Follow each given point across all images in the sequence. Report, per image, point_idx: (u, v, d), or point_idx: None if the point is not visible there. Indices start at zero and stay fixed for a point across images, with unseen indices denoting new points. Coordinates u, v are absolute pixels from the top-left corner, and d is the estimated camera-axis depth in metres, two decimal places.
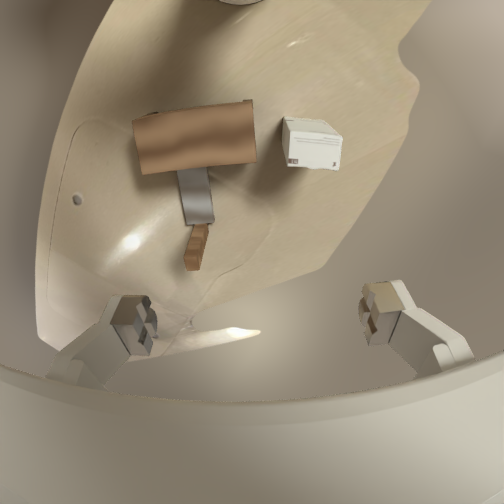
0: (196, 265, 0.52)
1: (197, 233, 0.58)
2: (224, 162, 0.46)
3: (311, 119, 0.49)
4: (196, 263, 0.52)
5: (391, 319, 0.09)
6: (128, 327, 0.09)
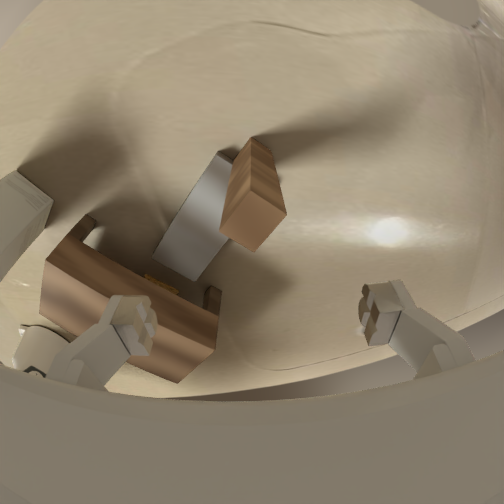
0: (242, 209, 0.15)
1: None
2: (86, 288, 0.24)
3: None
4: (236, 214, 0.15)
5: (391, 319, 0.09)
6: (128, 327, 0.09)
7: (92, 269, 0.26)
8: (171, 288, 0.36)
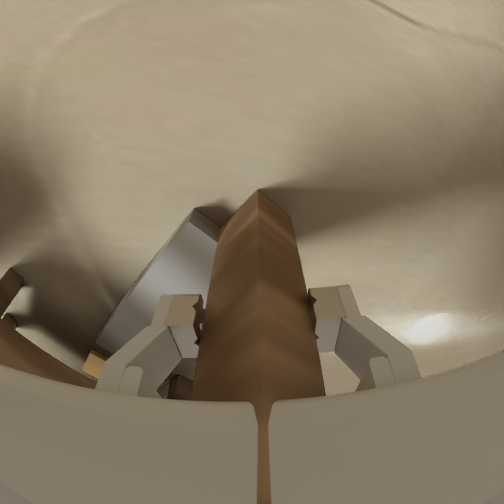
0: None
1: None
2: None
3: None
4: None
5: (332, 326, 0.09)
6: (186, 328, 0.09)
7: (11, 366, 0.13)
8: None
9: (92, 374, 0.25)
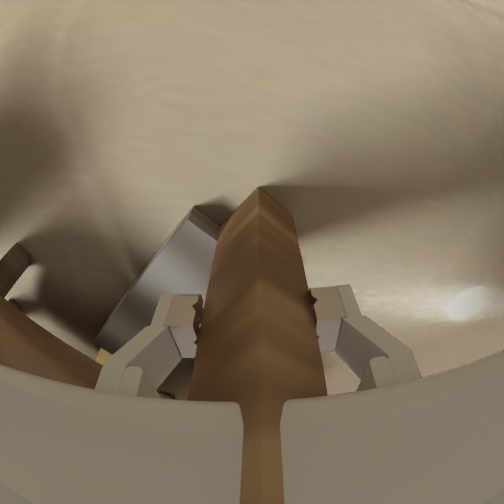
0: None
1: None
2: None
3: None
4: None
5: (332, 326, 0.09)
6: (186, 328, 0.09)
7: (15, 352, 0.12)
8: None
9: None
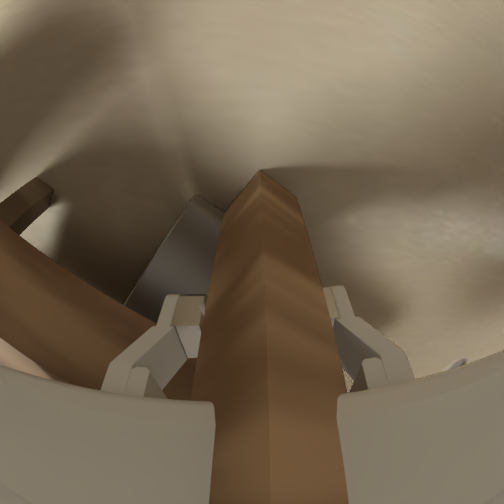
0: None
1: None
2: (9, 347, 0.08)
3: None
4: None
5: None
6: (193, 328, 0.09)
7: (23, 299, 0.09)
8: None
9: None
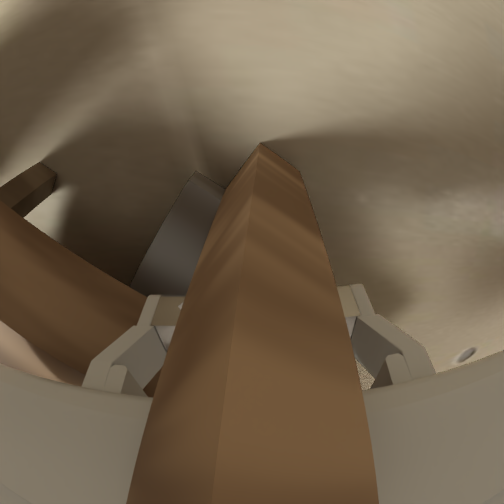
0: None
1: None
2: (7, 329, 0.07)
3: None
4: None
5: (347, 325, 0.09)
6: (171, 328, 0.09)
7: (24, 279, 0.09)
8: None
9: None
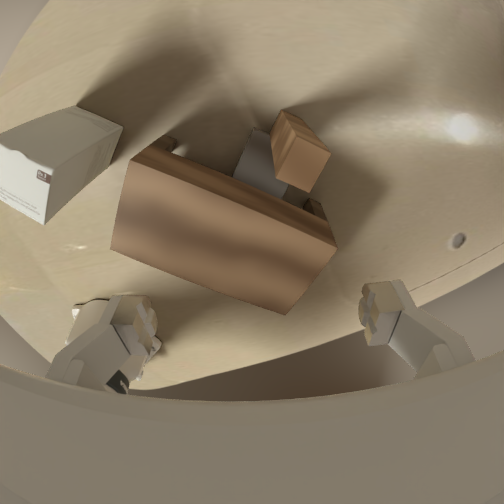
0: (293, 154, 0.17)
1: None
2: (184, 186, 0.23)
3: None
4: (289, 160, 0.17)
5: (391, 319, 0.09)
6: (128, 327, 0.09)
7: (186, 170, 0.24)
8: None
9: None
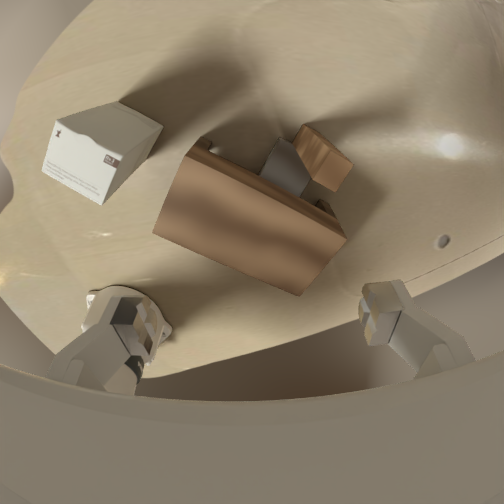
0: (327, 163, 0.22)
1: None
2: (230, 181, 0.28)
3: None
4: (323, 167, 0.23)
5: (391, 319, 0.09)
6: (128, 327, 0.09)
7: (229, 169, 0.30)
8: None
9: None
